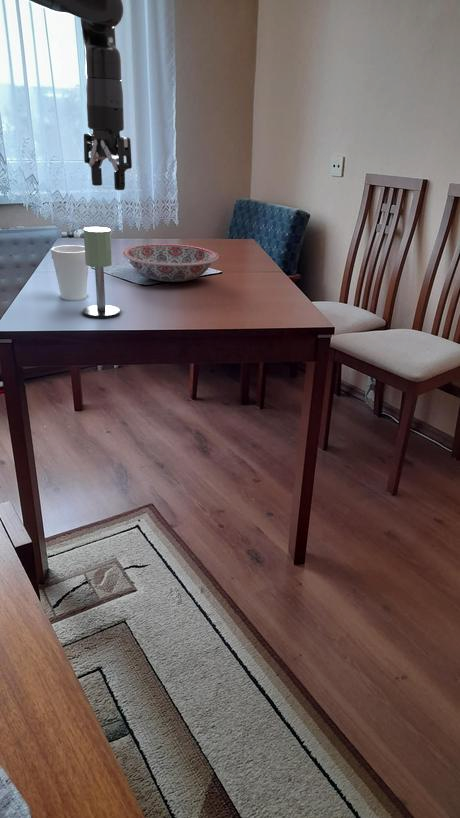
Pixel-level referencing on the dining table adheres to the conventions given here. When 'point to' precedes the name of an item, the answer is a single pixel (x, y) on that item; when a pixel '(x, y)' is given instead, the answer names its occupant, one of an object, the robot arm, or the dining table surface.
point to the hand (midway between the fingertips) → (108, 187)
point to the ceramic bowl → (170, 261)
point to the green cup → (97, 247)
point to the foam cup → (71, 271)
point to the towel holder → (100, 300)
